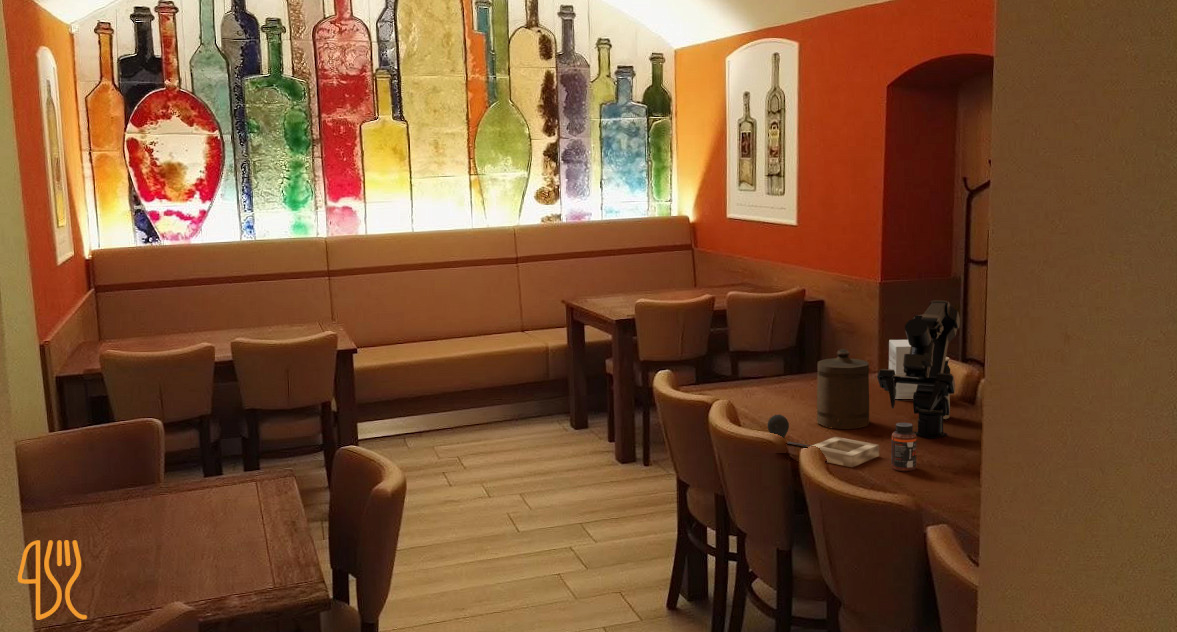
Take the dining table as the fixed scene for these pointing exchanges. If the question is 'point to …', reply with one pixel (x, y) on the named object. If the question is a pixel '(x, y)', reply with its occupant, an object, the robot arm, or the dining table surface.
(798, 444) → the dark grey rod
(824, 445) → the cream square shallow tray
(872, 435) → the dining table surface
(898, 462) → the supplement bottle
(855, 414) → the wooden container
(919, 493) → the dining table surface
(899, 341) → the supplement box
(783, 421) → the light bulb
